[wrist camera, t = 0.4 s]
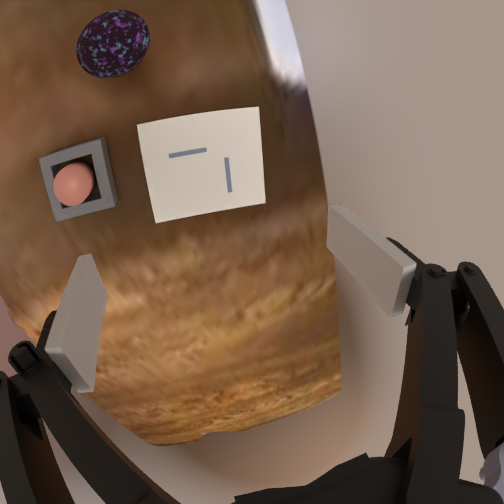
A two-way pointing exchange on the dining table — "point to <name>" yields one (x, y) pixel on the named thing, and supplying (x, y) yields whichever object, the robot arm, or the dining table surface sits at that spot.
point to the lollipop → (113, 44)
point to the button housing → (103, 174)
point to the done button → (74, 183)
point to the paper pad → (203, 162)
